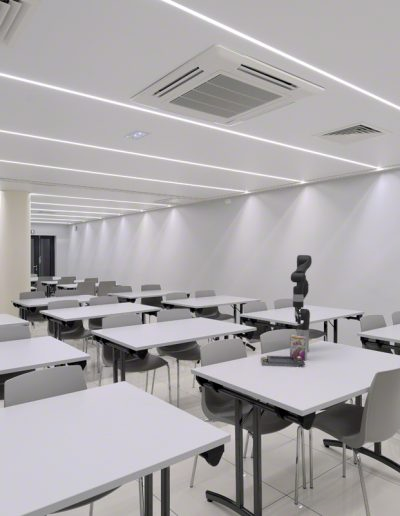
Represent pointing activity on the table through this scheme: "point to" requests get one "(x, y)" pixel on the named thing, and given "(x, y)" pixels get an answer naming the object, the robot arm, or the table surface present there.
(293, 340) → the candy bar box
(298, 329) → the robot arm
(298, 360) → the grey tray
